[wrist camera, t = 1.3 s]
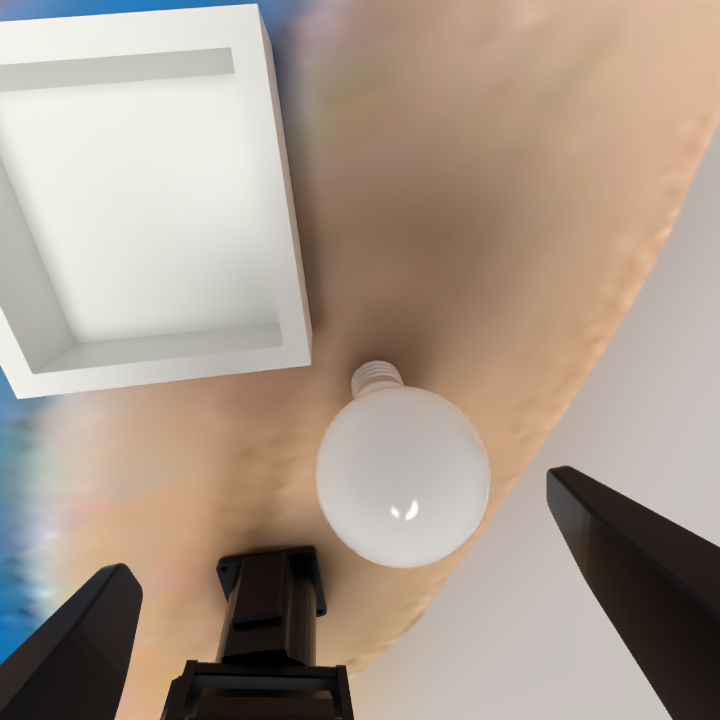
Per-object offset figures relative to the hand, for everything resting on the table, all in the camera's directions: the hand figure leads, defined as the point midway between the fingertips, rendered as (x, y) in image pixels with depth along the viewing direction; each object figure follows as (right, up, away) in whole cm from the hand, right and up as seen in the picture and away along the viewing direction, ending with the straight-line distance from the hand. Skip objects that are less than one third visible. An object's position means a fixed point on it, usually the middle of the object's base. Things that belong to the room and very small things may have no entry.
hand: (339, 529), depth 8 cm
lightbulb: (+1, +3, +14) cm, 14 cm away
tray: (-8, +10, +9) cm, 16 cm away
